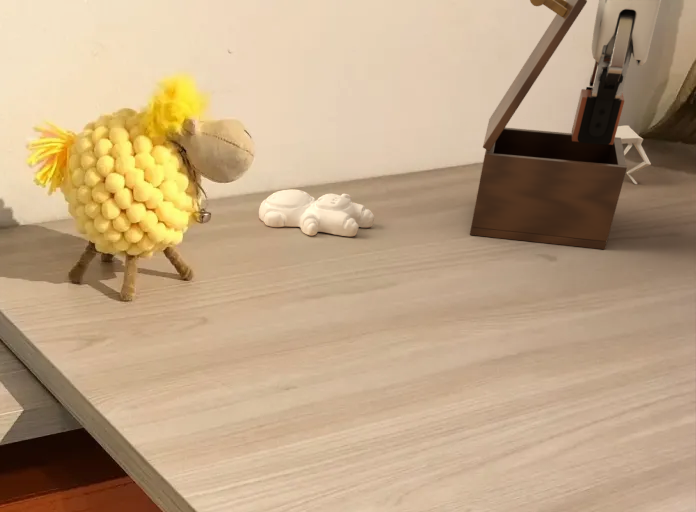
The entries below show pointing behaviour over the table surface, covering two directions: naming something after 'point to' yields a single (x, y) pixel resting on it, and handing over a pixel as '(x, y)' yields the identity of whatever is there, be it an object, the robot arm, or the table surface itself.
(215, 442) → the table surface
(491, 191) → the chest
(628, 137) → the origami figure
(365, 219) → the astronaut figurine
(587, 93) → the block
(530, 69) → the lid
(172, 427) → the table surface
